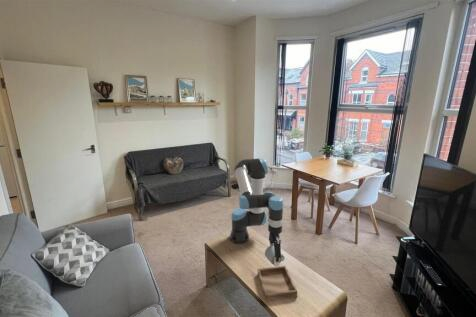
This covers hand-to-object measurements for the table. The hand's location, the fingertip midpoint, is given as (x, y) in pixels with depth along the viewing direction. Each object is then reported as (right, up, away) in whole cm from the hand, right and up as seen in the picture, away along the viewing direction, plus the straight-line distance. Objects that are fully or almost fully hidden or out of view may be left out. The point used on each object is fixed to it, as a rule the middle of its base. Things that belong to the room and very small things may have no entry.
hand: (274, 259), depth 132 cm
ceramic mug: (+1, -1, +1) cm, 2 cm away
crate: (+2, -17, +5) cm, 18 cm away
